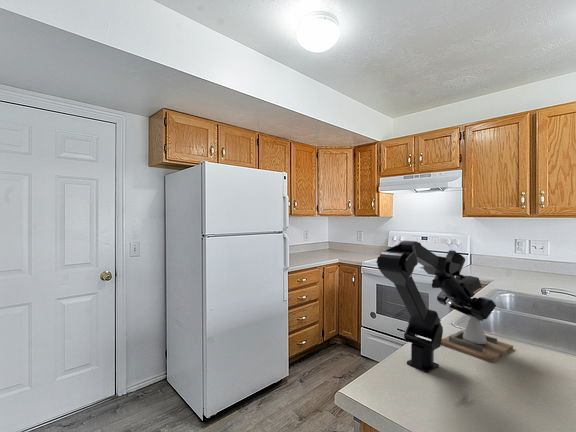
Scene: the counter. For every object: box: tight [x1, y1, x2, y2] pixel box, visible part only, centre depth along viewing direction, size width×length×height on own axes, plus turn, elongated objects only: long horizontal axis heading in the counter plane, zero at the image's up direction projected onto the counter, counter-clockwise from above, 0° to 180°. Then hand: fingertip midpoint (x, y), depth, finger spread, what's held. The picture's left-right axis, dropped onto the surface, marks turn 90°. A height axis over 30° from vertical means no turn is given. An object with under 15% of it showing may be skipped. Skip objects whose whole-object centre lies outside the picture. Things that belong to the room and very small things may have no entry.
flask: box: [463, 309, 488, 344], centre depth 100 cm, size 7×7×10 cm
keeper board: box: [441, 328, 514, 364], centre depth 100 cm, size 16×16×3 cm
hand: (478, 318), depth 100 cm, fingers closed on flask, 3 cm apart
